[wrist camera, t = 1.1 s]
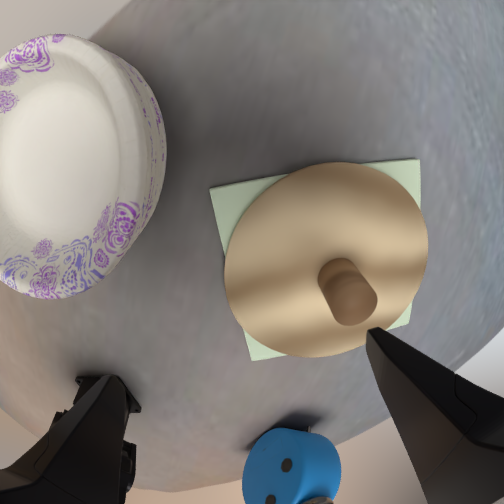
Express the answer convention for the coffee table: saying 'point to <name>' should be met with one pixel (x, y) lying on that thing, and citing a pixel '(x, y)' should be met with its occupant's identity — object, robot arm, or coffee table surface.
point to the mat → (244, 193)
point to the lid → (325, 259)
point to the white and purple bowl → (73, 164)
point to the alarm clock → (291, 469)
